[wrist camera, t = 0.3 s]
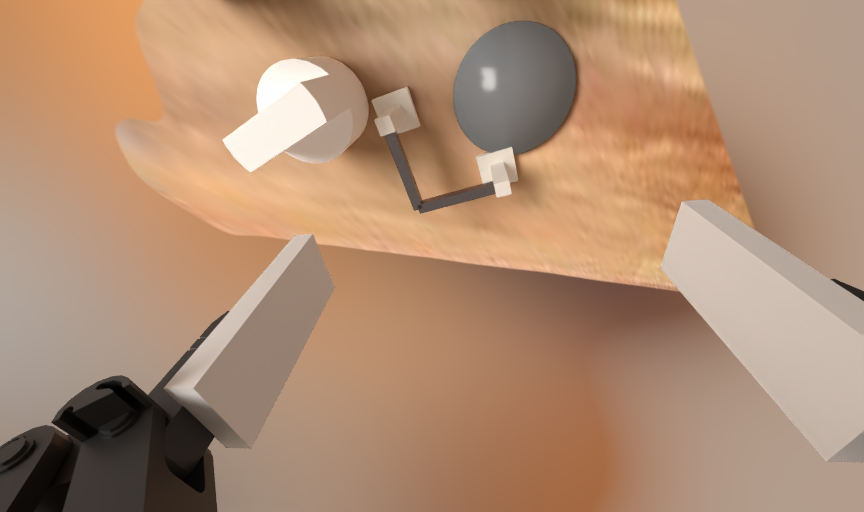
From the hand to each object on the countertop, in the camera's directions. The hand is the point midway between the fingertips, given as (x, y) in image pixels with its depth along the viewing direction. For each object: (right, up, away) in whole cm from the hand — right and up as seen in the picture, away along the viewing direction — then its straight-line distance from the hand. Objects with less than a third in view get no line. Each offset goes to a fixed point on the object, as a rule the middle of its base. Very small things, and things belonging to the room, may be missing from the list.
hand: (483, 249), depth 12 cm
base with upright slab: (-13, +16, +22) cm, 31 cm away
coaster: (+6, +16, +20) cm, 27 cm away
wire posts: (-1, +13, +23) cm, 27 cm away
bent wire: (-1, +10, +19) cm, 22 cm away
